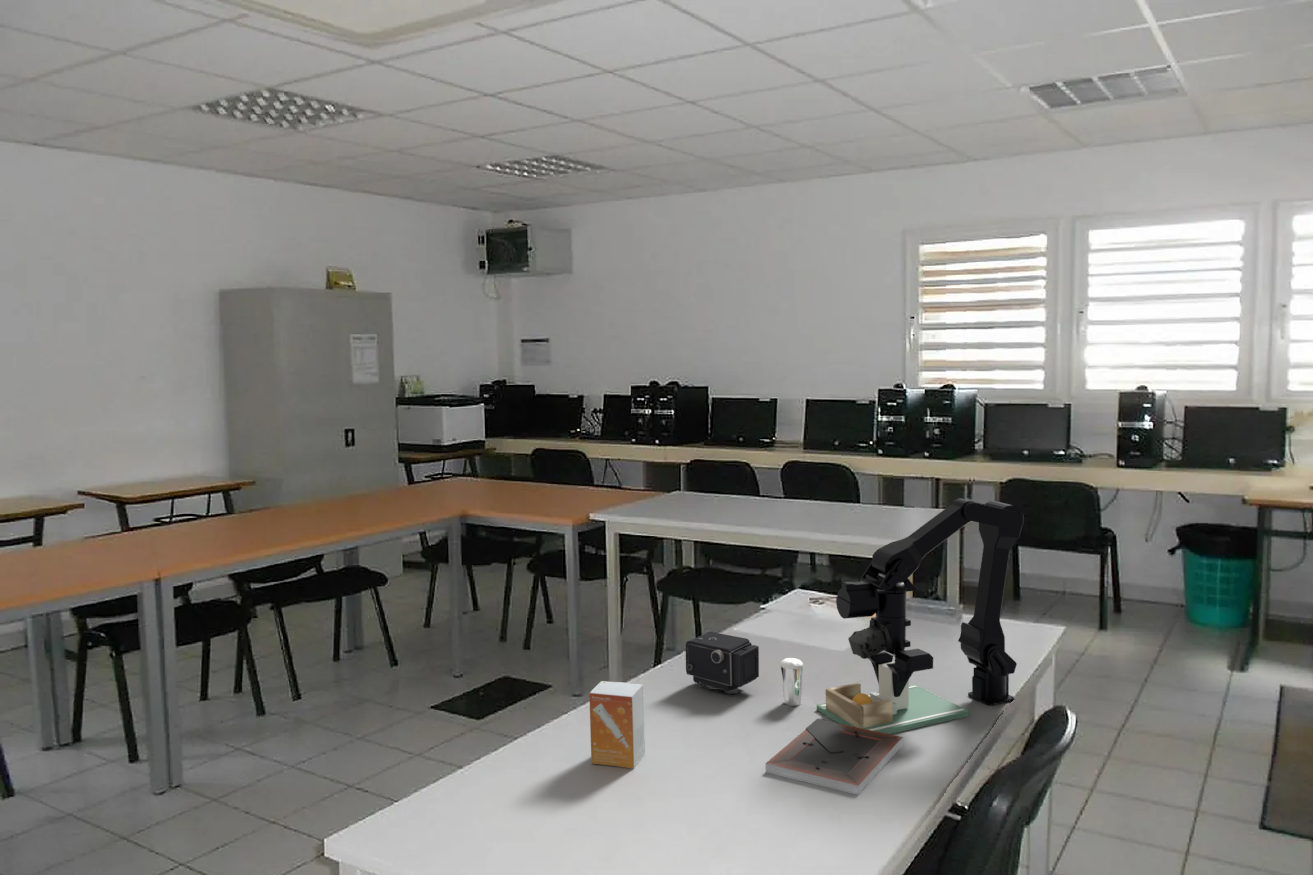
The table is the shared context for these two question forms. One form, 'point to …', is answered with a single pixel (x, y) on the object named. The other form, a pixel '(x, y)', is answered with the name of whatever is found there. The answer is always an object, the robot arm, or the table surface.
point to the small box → (617, 724)
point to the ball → (862, 699)
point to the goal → (857, 707)
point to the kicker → (890, 690)
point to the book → (835, 756)
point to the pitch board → (912, 712)
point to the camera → (722, 661)
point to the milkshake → (792, 680)
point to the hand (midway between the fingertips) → (889, 693)
